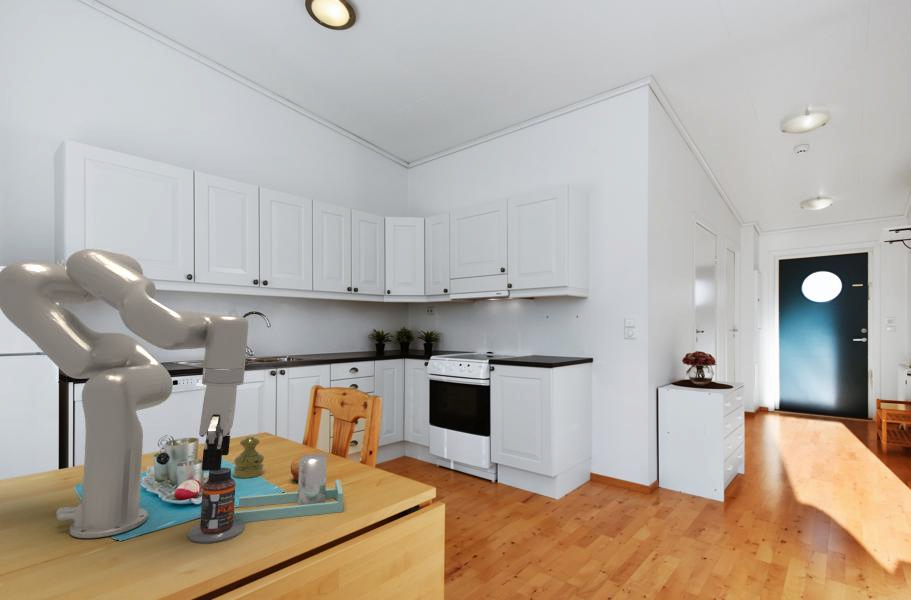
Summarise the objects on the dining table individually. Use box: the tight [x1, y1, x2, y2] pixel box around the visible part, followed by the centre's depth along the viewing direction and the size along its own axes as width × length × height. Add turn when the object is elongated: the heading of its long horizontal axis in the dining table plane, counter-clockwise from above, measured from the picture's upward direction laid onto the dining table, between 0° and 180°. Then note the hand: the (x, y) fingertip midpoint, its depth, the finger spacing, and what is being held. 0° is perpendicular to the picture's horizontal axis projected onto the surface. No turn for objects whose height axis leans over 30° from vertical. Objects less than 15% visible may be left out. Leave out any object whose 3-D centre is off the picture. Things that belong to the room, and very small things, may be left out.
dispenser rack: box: [234, 479, 344, 523], centre depth 103 cm, size 22×10×4 cm, turn 108°
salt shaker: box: [233, 436, 265, 479], centre depth 126 cm, size 7×7×10 cm
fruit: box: [290, 452, 317, 482], centre depth 123 cm, size 8×8×8 cm
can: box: [297, 453, 328, 505], centre depth 105 cm, size 6×6×11 cm
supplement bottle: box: [199, 467, 236, 533], centre depth 92 cm, size 6×6×11 cm
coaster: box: [187, 520, 246, 544], centre depth 91 cm, size 10×10×1 cm
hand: (215, 462), depth 92 cm, fingers open, 9 cm apart
